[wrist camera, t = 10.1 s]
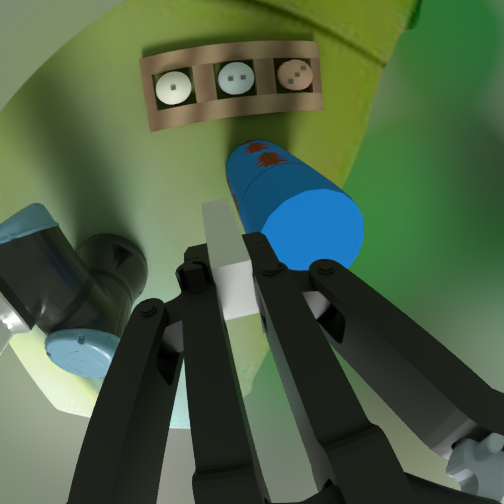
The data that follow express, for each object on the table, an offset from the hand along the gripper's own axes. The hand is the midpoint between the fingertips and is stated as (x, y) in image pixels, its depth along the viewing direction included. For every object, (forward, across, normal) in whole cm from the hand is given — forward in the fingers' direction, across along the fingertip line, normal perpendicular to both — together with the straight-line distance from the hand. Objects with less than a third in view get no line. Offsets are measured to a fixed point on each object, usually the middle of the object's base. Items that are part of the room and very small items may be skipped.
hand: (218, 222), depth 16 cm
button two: (+29, +7, +10) cm, 32 cm away
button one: (+30, -2, +10) cm, 31 cm away
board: (+30, +7, +10) cm, 32 cm away
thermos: (+30, +8, -6) cm, 32 cm away
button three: (+29, +16, +9) cm, 34 cm away
